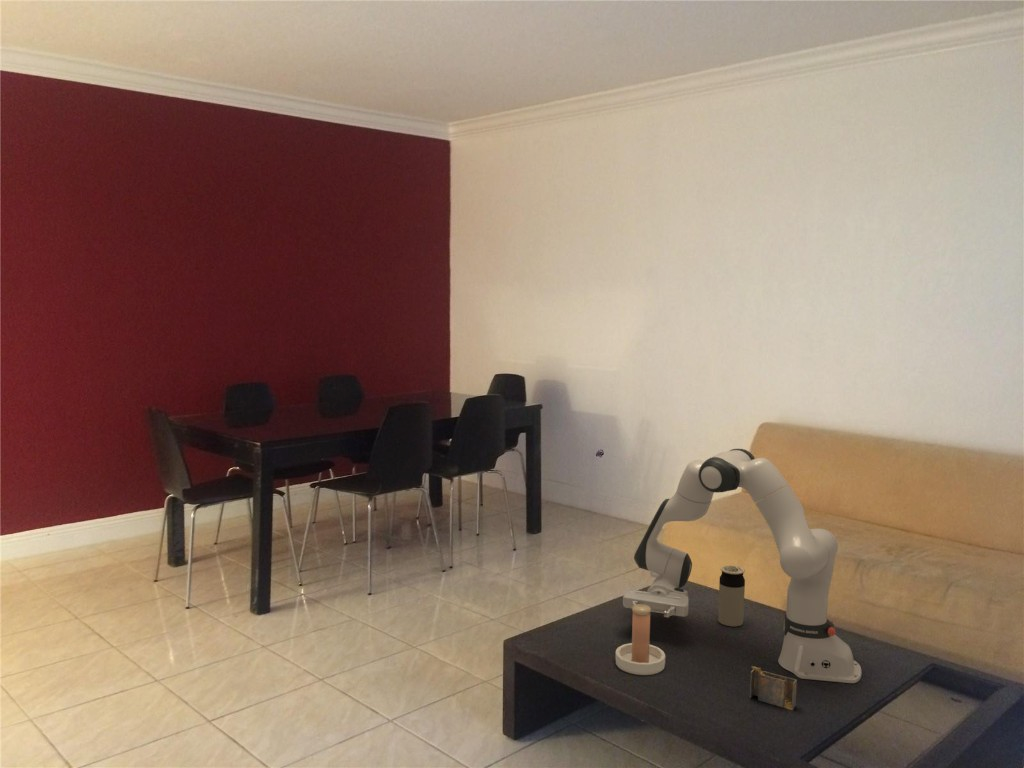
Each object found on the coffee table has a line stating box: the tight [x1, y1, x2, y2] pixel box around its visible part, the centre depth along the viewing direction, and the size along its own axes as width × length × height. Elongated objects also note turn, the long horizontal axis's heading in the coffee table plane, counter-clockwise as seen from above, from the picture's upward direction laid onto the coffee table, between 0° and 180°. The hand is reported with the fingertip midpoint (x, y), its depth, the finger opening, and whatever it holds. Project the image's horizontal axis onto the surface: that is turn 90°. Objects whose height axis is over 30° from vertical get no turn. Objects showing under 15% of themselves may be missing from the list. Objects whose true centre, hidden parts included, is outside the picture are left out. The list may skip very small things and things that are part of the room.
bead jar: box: [631, 604, 651, 663], centre depth 240 cm, size 5×5×16 cm
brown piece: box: [749, 665, 798, 711], centre depth 219 cm, size 11×3×10 cm, turn 57°
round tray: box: [615, 642, 666, 676], centre depth 241 cm, size 14×14×3 cm
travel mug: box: [717, 564, 746, 628], centre depth 270 cm, size 8×8×18 cm
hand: (650, 612), depth 251 cm, fingers open, 8 cm apart
